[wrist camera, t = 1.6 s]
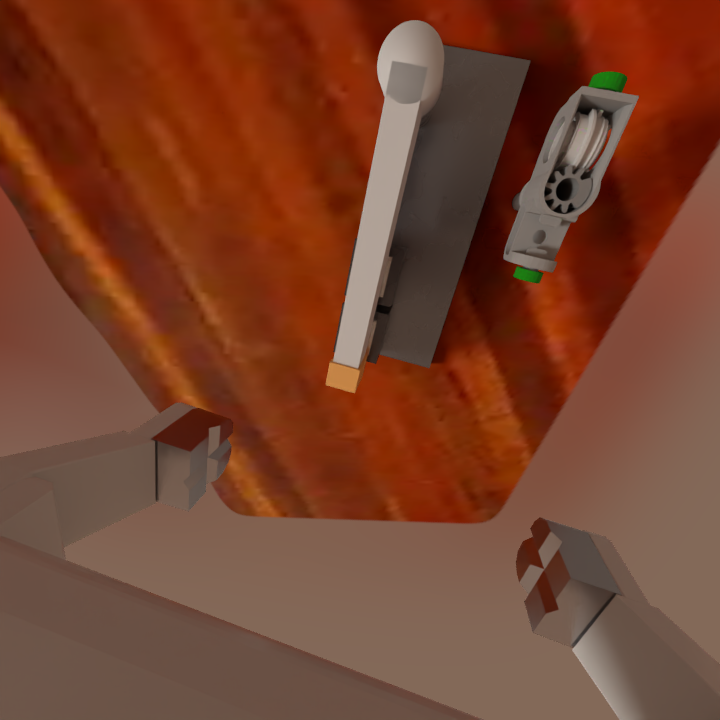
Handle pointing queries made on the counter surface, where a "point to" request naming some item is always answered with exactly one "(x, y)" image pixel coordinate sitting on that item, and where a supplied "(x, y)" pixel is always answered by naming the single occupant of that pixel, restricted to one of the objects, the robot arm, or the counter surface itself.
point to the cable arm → (386, 184)
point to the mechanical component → (567, 172)
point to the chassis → (448, 193)
